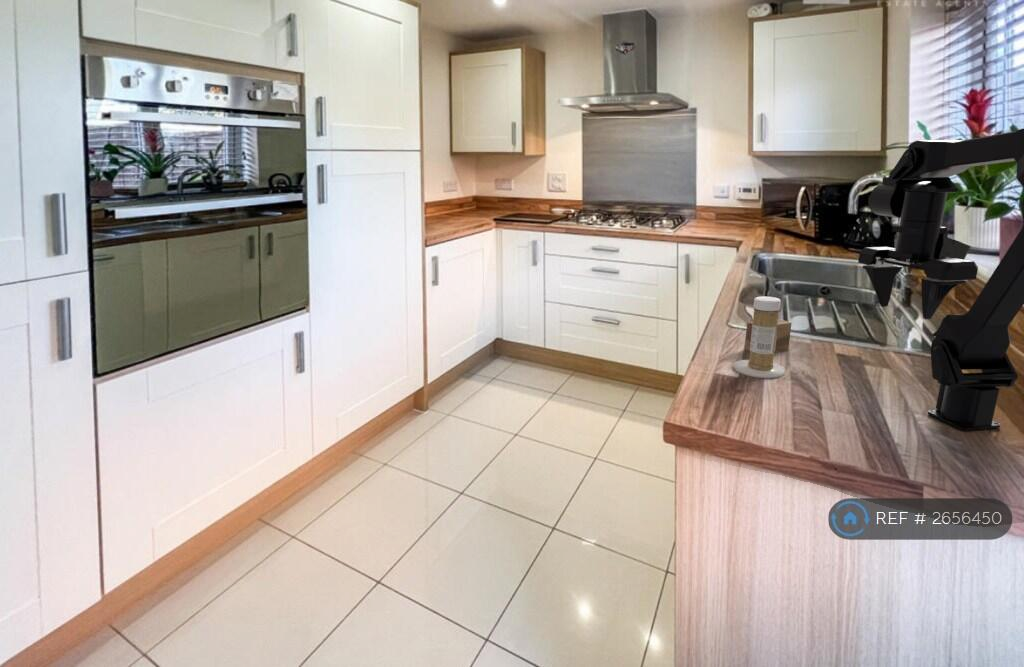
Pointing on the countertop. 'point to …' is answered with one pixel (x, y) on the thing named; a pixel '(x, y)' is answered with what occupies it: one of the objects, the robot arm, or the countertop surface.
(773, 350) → the sprinkles bottle
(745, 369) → the stone coaster
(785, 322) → the walnut block
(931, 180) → the robot arm
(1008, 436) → the countertop surface
